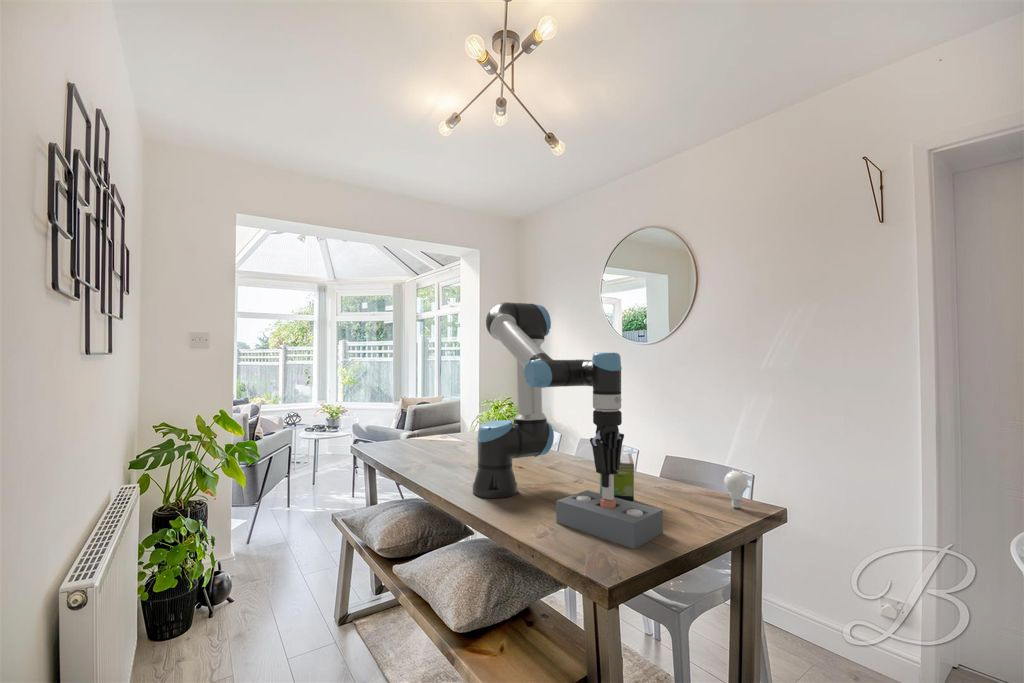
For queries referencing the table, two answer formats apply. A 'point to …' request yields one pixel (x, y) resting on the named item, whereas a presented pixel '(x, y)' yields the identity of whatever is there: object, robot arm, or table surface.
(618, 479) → the tea box
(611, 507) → the brown egg
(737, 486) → the lightbulb
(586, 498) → the grey plunger
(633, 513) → the grey plunger
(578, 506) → the board
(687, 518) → the table surface
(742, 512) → the table surface
